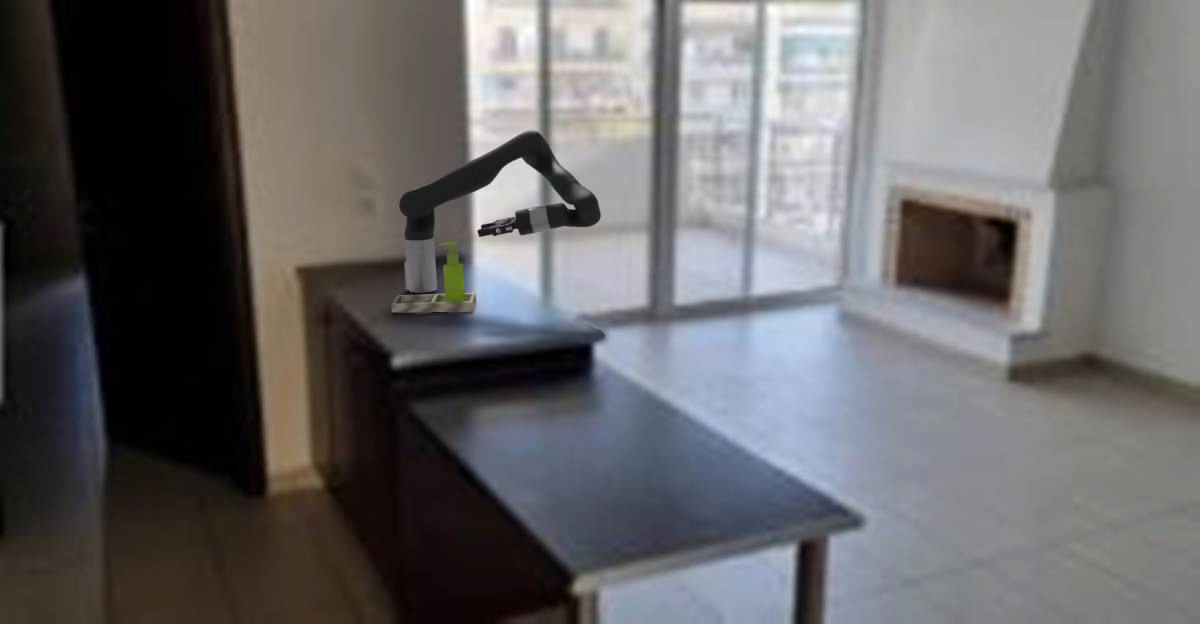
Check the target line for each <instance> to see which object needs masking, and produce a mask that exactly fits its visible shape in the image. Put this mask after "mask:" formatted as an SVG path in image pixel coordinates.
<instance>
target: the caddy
mask: <svg viewBox="0 0 1200 624" xmlns="http://www.w3.org/2000/svg"><path fill="white" fill-rule="evenodd" d="M476 304H477V294H476V292H472V293H471V292H465V301H461V302H445V293H433V294H432V293H431V294H430V293H429V294H427V293H426V294H403V295H402V294H401V295H400V294H399V295H398V294H397V295H396V297H395V299H394V300H393V302H392V303H391V307H390V309H391V313H392V312H415V313H416V312H422V313H421V314H432V313H431V312H448V313H472V312H474V310H475V307H476ZM416 314H417V313H416Z"/></svg>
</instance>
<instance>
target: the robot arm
mask: <svg viewBox="0 0 1200 624" xmlns="http://www.w3.org/2000/svg"><path fill="white" fill-rule="evenodd" d="M518 159H522V160H523V161H524V163H525V164H527V165H528V166H530V167H531V168H532V169H534V170H535V171H536V172H538V173H539V174H541V175H542V176H543V177H544V178H545V179H546V180H547V182H548V183H549V184H550V186H551V188H553V189H554V191H555V192H556V194H557V195H558V196H560V198H561V199H562V200H563V201H564V202H565V203H566V204H568V205H571V206H573V207H574V208H568V207H567V205H566V204H565V203H562V202H560V203H559V202H558V203H552V204H548V205H542V206H541V205H540V206H533V207H528V208H523V209H518V210H516V211H515V212H514V213H515V214H514V215H515V216H512V217H506V218H502V219H497V220H494V221H492V222H488V223H484V224H481V225H480V229H477V235H478V237H479V238H481V237H487V236H493V237H496V236H500V235H504V234H512V233H513V232H514V230H517V231H518V234H519V235H520V236H521V237H522V236H527V235H531V234H536V233H542V232H545V231H548V230H552V229H558V228H562V227H569V228H588V227H592V226H594V225H597V224H598V222H600V220H601V217H602V213H601V210H600V205H599V200H598V198H597V196H596V195H595V194H594V193H593V192H592V191H591V190H590V189H589V188H587V187H585V186H583V185H582V184H581V183H580V182H579V180H577V178H576V177H575V176H574V175H573V174H572V173H570V171H569V170H567V169H565V168H564V167H563V166H562V165H561V164H560V162H559V161H558V160H557V158H556V156H555V154H554V153H553V151H552V149H551V147H550V144H549V143H548V141H547V140H546V139H545V138H544V137H543V135H542V134H541V133H540V132H539V131H538V130H535V129H530V130H526V131H523V132H521V133H519V134H517V135H516V136H514V137H513V138H511V139H510V140H507V141H506V142H505V143H503V144H502V145H499V146H498V147H496V148H494V149H493V150H490V151H488V152H487V153H485V154H483V155H480V156H478V157H476V158H474V159H472V160H469V161H467V162H464V163H463V164H461V165H460V166H457V167H456V168H454V169H452V170H451V171H449V172H448V173H446V174H444V175H443V176H441V177H440V178H437V180H435V181H433V182H430V183H429V184H426V185H422V186H420V187H414V188H412V189H410V190H408V191H405V192H404V193H403V194H402V195H401V197H400V200H399V203H398V207H399V210H400V213H401V214H402V215H403V216H405V217H406V224H405V229H404V243H405V245H404V247H405V258H406V259H405V261H404V264H403V265H404V275H405V276H404V277H405V290H406V289H408V290H409V291H410V292H409V291H408V290H407V291H408V292H409V293H413V292H414V293H415V294H423V293H426V294H427V293H431V292H435V291H437V289H438V284H437V269H436V268H437V266H436V265H437V264H436V250H435V237H434V236H435V235H434V232H435V225H436V223H435V220H436V219H435V209H436V208H438V207H439V206H441V205H442V204H444V203H447V202H451V201H454V200H457V199H459V198H462V197H465V196H467V195H470V194H472V193H475V192H477V191H480V190H481V189H483V188H485V187H488V186H489V185H491V183H492V182H493V181H494V180H495V179H496V178H497V176H498V175H499V174H500V172H501V171H502V169H504V167H506V166H508V164H510V163H512V162H514V161H517V160H518Z"/></svg>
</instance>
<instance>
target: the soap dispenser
mask: <svg viewBox="0 0 1200 624" xmlns="http://www.w3.org/2000/svg"><path fill="white" fill-rule="evenodd" d="M443 246H448V250H449V251H448V253H447V254H446V264H444V265H443V267H442V268H443V281H444V294H445V302H461V301H465V293H466V292H465V291H466V290H465V278H464V277H465V275H464V264H462V263H459V262H460V261H459V253H457V252H456V246H457V242H456V241H455V242H452V241H449V242H447V241H446V242H441V243H439V244H438V247H443Z"/></svg>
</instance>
